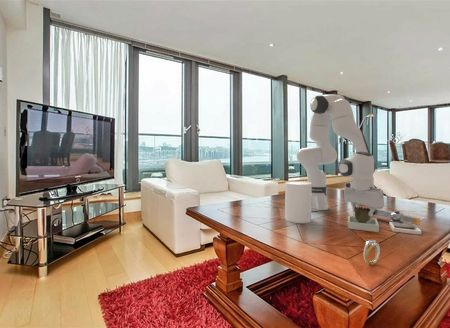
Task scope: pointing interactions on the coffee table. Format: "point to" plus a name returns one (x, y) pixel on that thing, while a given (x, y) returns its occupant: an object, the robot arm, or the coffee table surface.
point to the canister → (298, 201)
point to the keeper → (416, 231)
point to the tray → (363, 224)
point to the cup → (361, 214)
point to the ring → (366, 252)
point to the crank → (397, 216)
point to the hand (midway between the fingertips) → (362, 213)
